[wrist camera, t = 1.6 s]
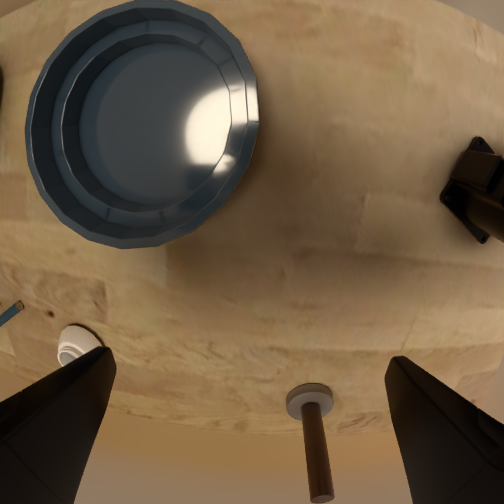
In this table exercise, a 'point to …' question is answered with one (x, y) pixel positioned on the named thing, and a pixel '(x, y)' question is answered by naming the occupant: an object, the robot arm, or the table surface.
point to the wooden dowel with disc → (314, 436)
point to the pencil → (11, 312)
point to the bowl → (142, 123)
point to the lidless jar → (75, 343)
